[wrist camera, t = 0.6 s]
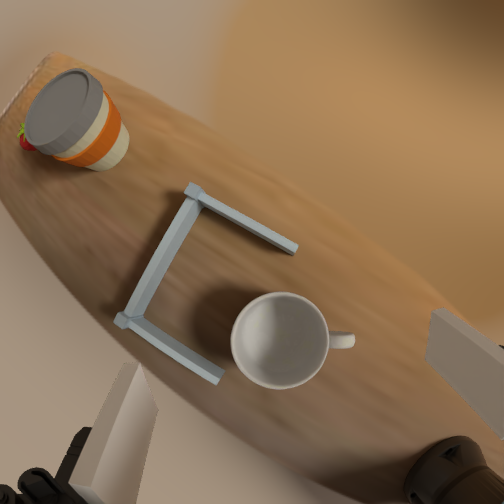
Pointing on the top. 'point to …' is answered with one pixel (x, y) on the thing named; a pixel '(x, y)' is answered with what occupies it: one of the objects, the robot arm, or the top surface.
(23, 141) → the strawberry
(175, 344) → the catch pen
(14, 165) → the top surface
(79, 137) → the reusable coffee cup
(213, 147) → the top surface
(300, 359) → the teacup
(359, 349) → the top surface
